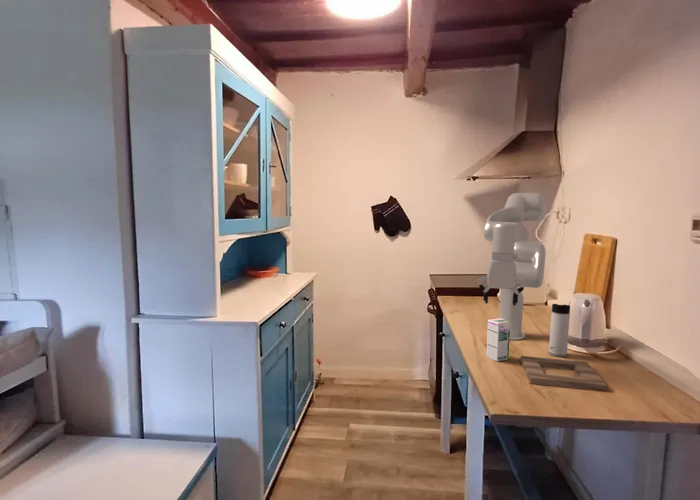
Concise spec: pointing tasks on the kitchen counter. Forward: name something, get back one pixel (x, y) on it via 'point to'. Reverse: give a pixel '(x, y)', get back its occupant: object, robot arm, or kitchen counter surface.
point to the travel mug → (559, 330)
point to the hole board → (583, 370)
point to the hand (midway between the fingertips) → (500, 303)
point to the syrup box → (498, 339)
